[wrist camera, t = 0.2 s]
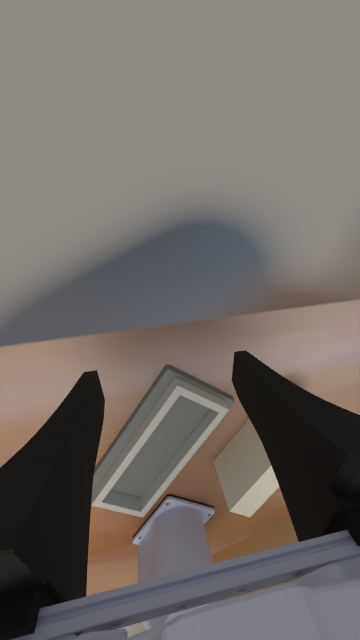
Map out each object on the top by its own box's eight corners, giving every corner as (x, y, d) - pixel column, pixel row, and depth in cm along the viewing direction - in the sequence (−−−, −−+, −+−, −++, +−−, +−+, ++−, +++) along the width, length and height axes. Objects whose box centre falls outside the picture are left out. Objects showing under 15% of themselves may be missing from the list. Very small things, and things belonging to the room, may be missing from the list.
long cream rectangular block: (230, 466, 31) (250, 517, 26) (212, 460, 30) (229, 511, 25) (298, 387, 28) (337, 425, 23) (281, 377, 27) (317, 414, 22)
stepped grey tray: (149, 501, 31) (149, 521, 29) (83, 484, 28) (79, 505, 26) (232, 397, 27) (240, 411, 25) (166, 364, 24) (169, 377, 22)
